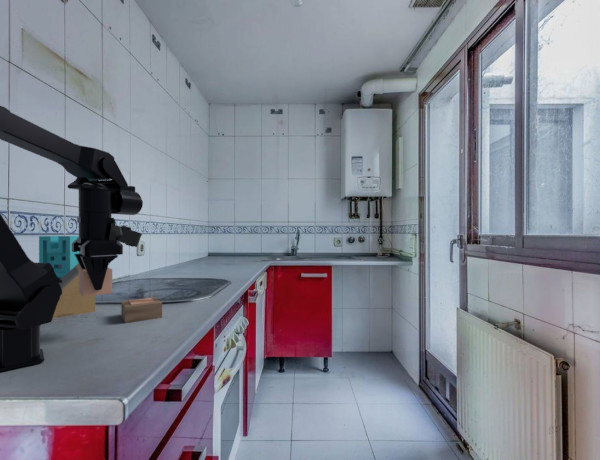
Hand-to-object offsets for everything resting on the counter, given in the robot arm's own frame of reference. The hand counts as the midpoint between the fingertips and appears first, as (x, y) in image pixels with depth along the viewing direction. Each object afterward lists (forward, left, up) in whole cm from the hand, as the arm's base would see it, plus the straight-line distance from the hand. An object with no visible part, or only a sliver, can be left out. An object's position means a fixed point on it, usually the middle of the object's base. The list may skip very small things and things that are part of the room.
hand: (95, 288), depth 65 cm
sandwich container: (+26, +5, -10) cm, 28 cm away
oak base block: (+8, -11, -10) cm, 17 cm away
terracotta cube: (0, 0, -1) cm, 1 cm away
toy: (+39, +2, -10) cm, 40 cm away
